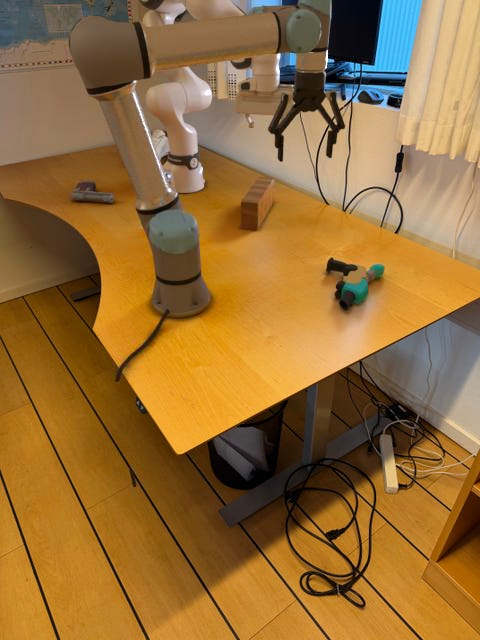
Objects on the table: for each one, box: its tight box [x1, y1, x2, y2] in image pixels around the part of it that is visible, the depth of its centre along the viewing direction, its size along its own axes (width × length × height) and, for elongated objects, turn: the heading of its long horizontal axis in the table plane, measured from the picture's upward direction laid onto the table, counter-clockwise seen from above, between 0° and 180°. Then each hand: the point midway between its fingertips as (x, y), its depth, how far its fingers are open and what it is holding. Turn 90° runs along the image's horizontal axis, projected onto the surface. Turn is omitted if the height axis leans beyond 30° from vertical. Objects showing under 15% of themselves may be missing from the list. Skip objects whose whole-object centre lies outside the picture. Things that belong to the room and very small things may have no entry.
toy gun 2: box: [325, 257, 386, 312], centre depth 129 cm, size 4×26×15 cm
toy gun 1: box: [69, 180, 115, 204], centre depth 185 cm, size 4×19×15 cm
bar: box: [240, 176, 275, 231], centre depth 168 cm, size 25×6×10 cm, turn 165°
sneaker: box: [151, 129, 170, 161], centre depth 220 cm, size 10×29×12 cm, turn 163°
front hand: (304, 158), depth 128 cm, fingers open, 13 cm apart
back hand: (264, 128), depth 161 cm, fingers open, 8 cm apart
